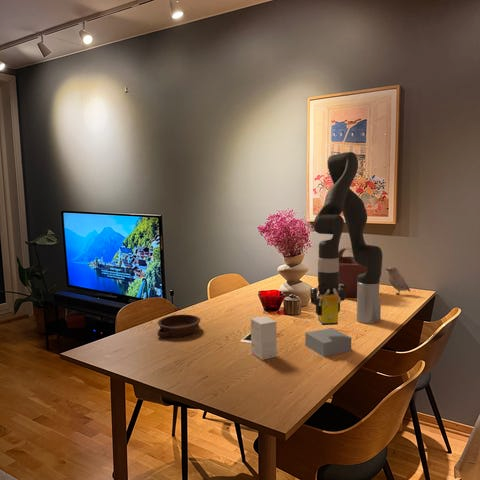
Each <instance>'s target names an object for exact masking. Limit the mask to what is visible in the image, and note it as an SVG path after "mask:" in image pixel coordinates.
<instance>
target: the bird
mask: <svg viewBox="0 0 480 480" xmlns="http://www.w3.org/2000/svg"><path fill="white" fill-rule="evenodd" d="M384 269H385V271H387V272H388V273H387V275H388V276H387V277H388V281H389V283H390V285H391V286H392V287H393V288H394V289H395V290H397V292H395V294H396V296H400V295H401V292H402V291H404V292H406V291H408V292H409V293H411V289H410V287H409V286H408V284H407V282H406V281H405V278H404V277H403V275H402V274H401V273H400V271H399V270H398V269H397V268H396V267H395V266H389V267H388V268H384Z"/></svg>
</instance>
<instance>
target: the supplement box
mask: <svg viewBox="0 0 480 480" xmlns="http://www.w3.org/2000/svg"><path fill="white" fill-rule="evenodd" d="M318 294H319V291H318V293H317V295H318ZM320 297H322V304H321V306H322V315H321V316H319V315H317V316H318V317H317V320H318V321H319V323H320V324H321V325H322V326H335V325H336V326H337V325H338V324H339V313H338V295H336V294H329V295H326V296H323V295H321V294H320Z"/></svg>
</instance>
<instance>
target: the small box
mask: <svg viewBox="0 0 480 480" xmlns="http://www.w3.org/2000/svg"><path fill="white" fill-rule="evenodd" d="M250 332H251V344H250V350H251V351H250V352H251V354H253V355H255V356H256V357H257V358H258V359H260V360H263V361H265V360H268V359H271V358H276V357H277V356H278V354H277V353H278V352H277V351H278V350H277V347H278V346H277V343H278V341H277V321H275V320H274V319H272V318H270V317H268V316H266V315H262V316H257V317H251V318H250Z"/></svg>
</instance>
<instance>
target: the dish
mask: <svg viewBox="0 0 480 480" xmlns="http://www.w3.org/2000/svg"><path fill="white" fill-rule="evenodd" d="M200 322H201V317H198V316H196V315H192V314H173V315H172V314H171V315H168V316H165V317H162V318H160V319H159V320H158V321H157V325H158V326H159V329H158V330H157V336H158V337H172V338H173V337H177V338H179V337H185V336H189V335H192V334H194V333H195V332H196V331H197V329H198V328H199V323H200Z"/></svg>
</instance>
